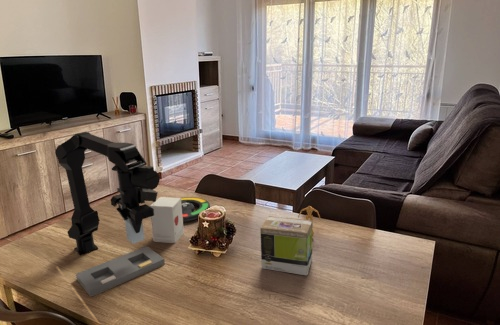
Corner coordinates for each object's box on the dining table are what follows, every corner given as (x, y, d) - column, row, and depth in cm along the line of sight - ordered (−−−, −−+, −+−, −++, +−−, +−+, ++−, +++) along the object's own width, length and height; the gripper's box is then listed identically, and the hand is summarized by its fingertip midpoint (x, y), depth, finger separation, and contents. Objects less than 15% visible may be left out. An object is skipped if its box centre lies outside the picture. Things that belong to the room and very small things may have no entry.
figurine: (296, 239, 134) (296, 209, 130) (298, 231, 139) (299, 203, 136) (319, 241, 132) (320, 211, 128) (320, 233, 137) (321, 204, 134)
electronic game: (201, 199, 174) (201, 190, 173) (217, 217, 154) (216, 207, 153) (154, 208, 165) (152, 199, 164) (163, 229, 145) (162, 218, 144)
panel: (77, 280, 112) (75, 272, 111) (147, 252, 127) (146, 245, 127) (90, 298, 103) (89, 290, 103) (164, 265, 119) (164, 258, 118)
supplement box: (175, 244, 132) (172, 207, 128) (153, 242, 134) (148, 205, 130) (184, 233, 141) (181, 197, 136) (163, 231, 142) (159, 196, 138)
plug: (127, 239, 117) (124, 218, 114) (138, 235, 119) (136, 214, 117) (132, 244, 114) (130, 222, 112) (144, 239, 116) (141, 218, 114)
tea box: (312, 260, 120) (313, 219, 116) (307, 277, 111) (308, 233, 106) (269, 253, 125) (268, 214, 120) (260, 269, 115) (259, 227, 111)
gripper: (167, 185, 110) (171, 231, 114) (139, 172, 123) (144, 214, 127) (132, 195, 103) (139, 244, 107) (107, 180, 116) (113, 224, 120)
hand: (134, 230), depth 116 cm, fingers closed on plug, 4 cm apart
